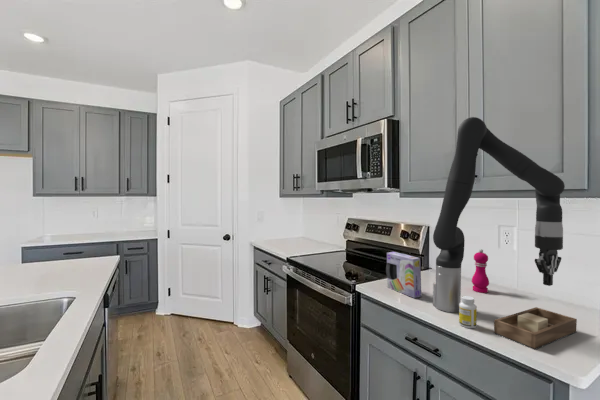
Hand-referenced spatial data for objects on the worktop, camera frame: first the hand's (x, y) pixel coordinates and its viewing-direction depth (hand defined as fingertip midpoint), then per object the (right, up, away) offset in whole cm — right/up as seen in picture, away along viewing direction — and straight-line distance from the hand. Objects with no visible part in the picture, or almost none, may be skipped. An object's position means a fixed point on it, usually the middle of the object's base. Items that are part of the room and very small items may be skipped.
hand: (547, 285), depth 107 cm
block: (-8, -13, -4) cm, 16 cm away
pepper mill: (+1, -14, +42) cm, 44 cm away
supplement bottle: (-26, -15, +3) cm, 30 cm away
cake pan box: (-37, -14, +39) cm, 56 cm away
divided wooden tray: (-6, -15, -3) cm, 17 cm away
